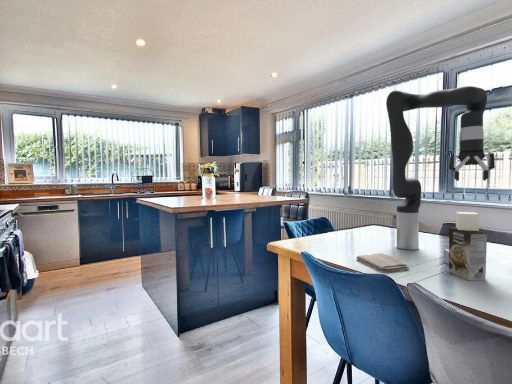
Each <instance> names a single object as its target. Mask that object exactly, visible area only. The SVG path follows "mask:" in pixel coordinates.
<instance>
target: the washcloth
mask: <svg viewBox="0 0 512 384" xmlns="http://www.w3.org/2000/svg"><path fill="white" fill-rule="evenodd" d="M357 259H358V260H357ZM356 260H357V261H359V262H360V261H361V263H362V262H363V263H362V264H364V263H365V265H366V264H367V265H366V266H368V265H369V267H371V268H372V267H373V269H375V268H376V269H377V271H378V270H379V272H380V271H382V272H383V273H393V272H394V271H395V272H401V271H400V270H404V271H408V270H410V268H409V266H408V265H407V263H406V262H403V261H402V260H401V259H400V258H396V257H394V256H391V255H389V254H385V253H383V252H382V253H381V252H379V253H372V254H361V255H357V256H356ZM376 269H375V270H376ZM382 272H381V273H382Z"/></svg>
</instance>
